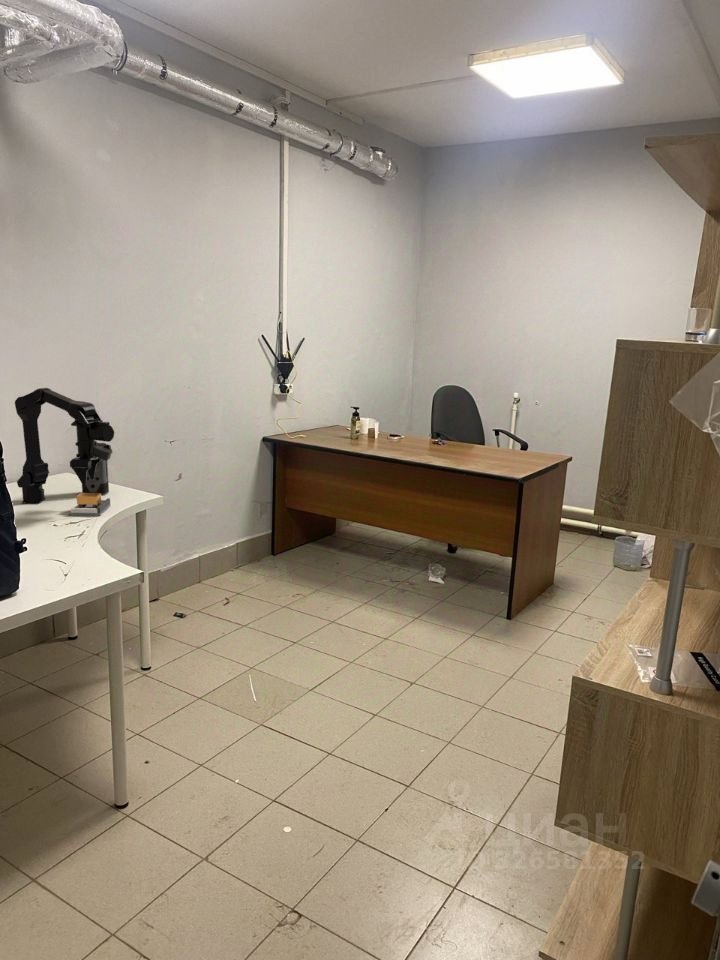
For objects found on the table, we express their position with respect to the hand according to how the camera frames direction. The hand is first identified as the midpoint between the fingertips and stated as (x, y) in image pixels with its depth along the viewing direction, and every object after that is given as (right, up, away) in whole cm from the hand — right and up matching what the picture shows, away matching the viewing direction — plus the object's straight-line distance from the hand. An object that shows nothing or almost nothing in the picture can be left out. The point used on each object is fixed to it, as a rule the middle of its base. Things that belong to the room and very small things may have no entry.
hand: (88, 481), depth 246 cm
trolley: (0, -9, +2) cm, 10 cm away
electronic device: (-7, -5, +25) cm, 27 cm away
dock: (0, -10, +3) cm, 11 cm away
